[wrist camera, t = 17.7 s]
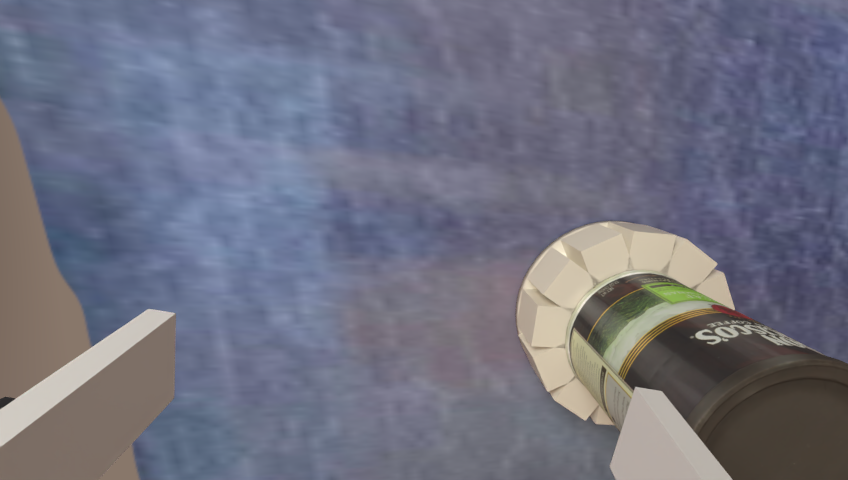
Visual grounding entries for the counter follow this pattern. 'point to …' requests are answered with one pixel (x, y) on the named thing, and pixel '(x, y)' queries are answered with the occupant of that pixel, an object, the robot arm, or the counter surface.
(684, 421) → the robot arm
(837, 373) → the coffee can
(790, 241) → the counter surface
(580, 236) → the cream cog ring
